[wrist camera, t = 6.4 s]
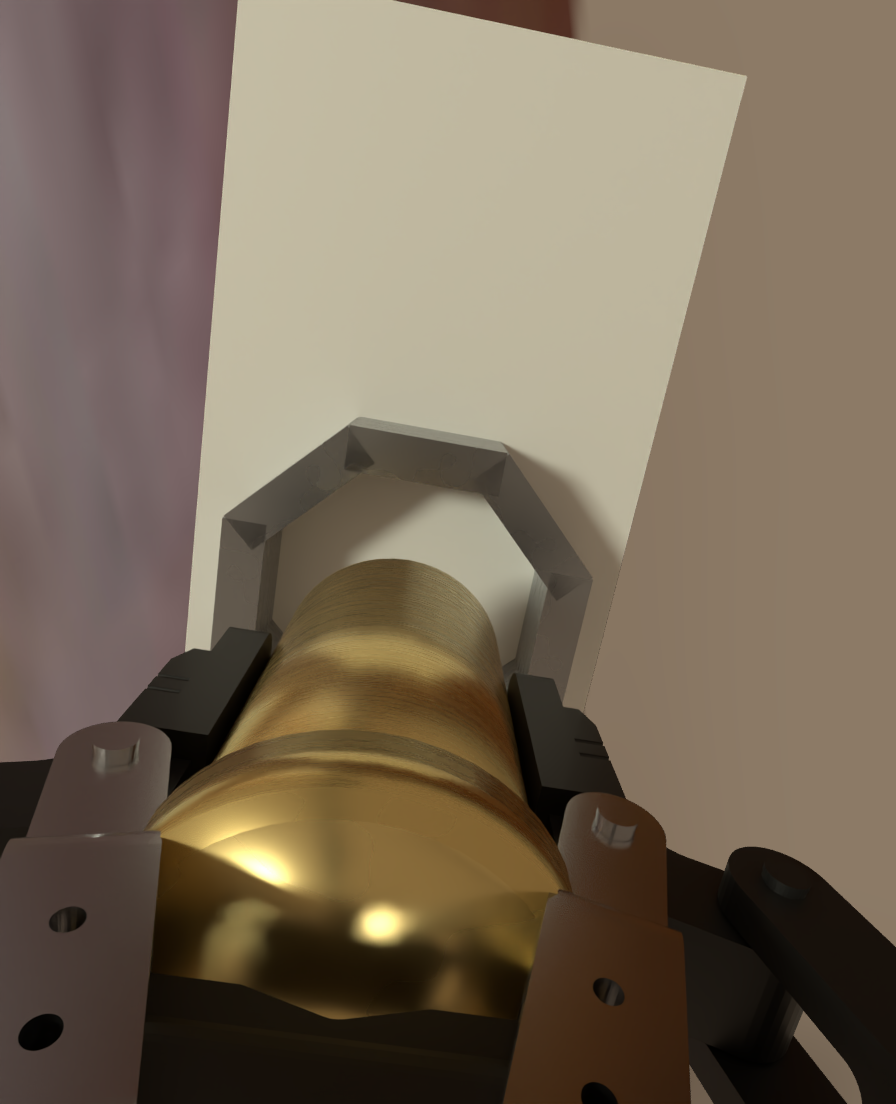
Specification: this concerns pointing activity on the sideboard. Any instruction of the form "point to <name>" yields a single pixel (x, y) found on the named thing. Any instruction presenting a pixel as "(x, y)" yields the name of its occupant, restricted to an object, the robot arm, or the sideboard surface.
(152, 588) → the sideboard surface
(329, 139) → the board
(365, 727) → the knob
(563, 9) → the sideboard surface
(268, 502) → the grey octagonal ring
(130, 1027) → the robot arm
